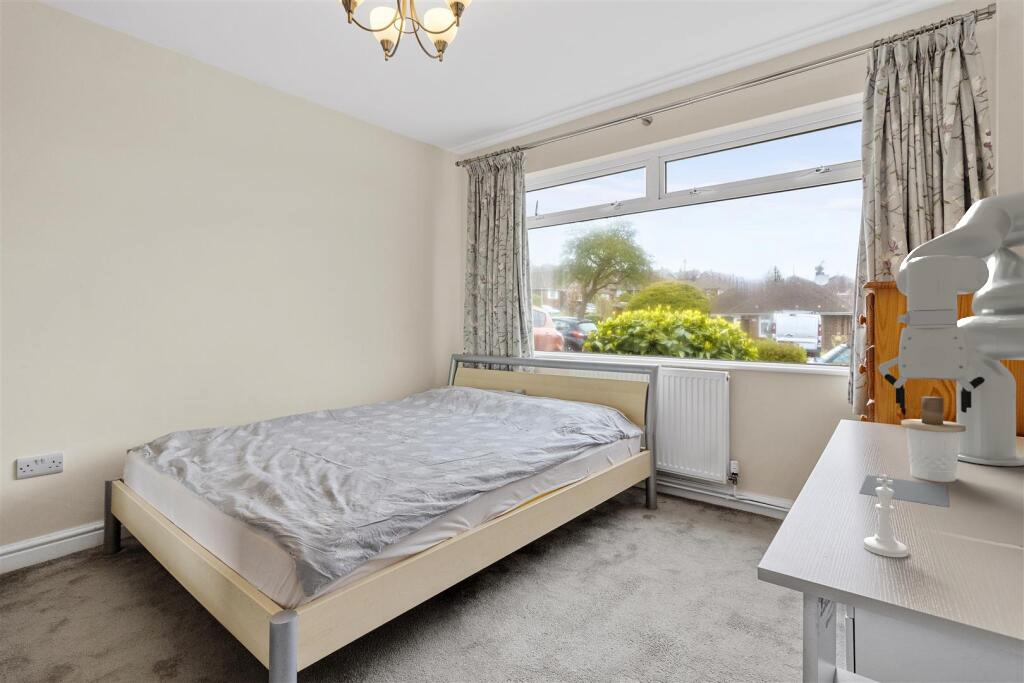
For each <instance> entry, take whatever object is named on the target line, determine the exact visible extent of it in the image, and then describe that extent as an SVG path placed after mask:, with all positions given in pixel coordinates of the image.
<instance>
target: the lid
mask: <svg viewBox="0 0 1024 683" xmlns="http://www.w3.org/2000/svg"><path fill="white" fill-rule="evenodd" d="M900 426H901V427H903V428H906V429H907V428H910V429H916V430H923V431H932V432H964V431H966V426H965V425H963V424H960V423H957V422H954V421H947V420H944V398H943V397H940V396H939V397H938V396H921V418H920V419H919V418H918V419H917V418H908V419H902V420H901V421H900Z"/></svg>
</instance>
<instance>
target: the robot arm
mask: <svg viewBox="0 0 1024 683" xmlns="http://www.w3.org/2000/svg"><path fill="white" fill-rule="evenodd" d="M1017 247H1024V190H1019V191H1014V192H1007V193H1003V194H997V195H993V196H988V197H985V198H982V199H980V200H978V201H976V202H975V203H973V204H972V205H971V206H970V208H969V209H968V210H967V211H966V212H965V214H964V215H963V217H962V218H961V219H960V220H959V222H958V223H957V225H956V226H955V227H954V229H952V230H950V231H948V232H947V231H946V232H945V233H942V234H941V235H939V236H937V237H935V238H933V239H931V240H928V241H927V242H924V243H923V244H921V245H919V246H917V247H916V248H915V249H913V250H912V251H911V252H910V253H909V254H908V255H907V256H906V257H905V259H904V260H903V261H902V263H901V264H900V266H899V268H898V270H897V273H896V277H895V284H896V288H897V290H898V291H899V293H901V295H904V296H906V311H907V312H906V313H905V314H902V315H901V314H900V315H897V323H903V324H906V325H907V326H906V327H903V328H902V329H901V332H900V337H899V345H898V347H899V348H898V356H896V357H895V358H893V359H890V360H888V361H886V362H883V363H880V364H879V365H877V370H878V371H879V372H880V374H881V375H882V377H883V378H884V380H885V381H887V382H888V383H889V384H891V385H892V386H893V387H894V388H895V404H897V405H898V404H899V409H905V408H906V388H905V387H904V385H905V383H906V382H907V381H908V380H909V379H913V380H915V379H916V380H940V381H941V380H943V381H956V385H955V386H956V387H955V389H956V392H955V393H956V400H955V401H956V405H955V406H956V423H960V424H963V425H965V426H966V431H964V432H959V450H958V460H957V461H963V462H966V463H972V464H977V465H978V464H980V465H986V466H988V465H989V466H996V467H997V466H998V467H1021V466H1024V456H1023V455H1019V454H1017V405H1016V404H1017V397H1016V396H1017V383H1016V382H1017V381H1016V379H1015V376H1014V374H1012V372H1011V371H1010V370H1009V369H1008V368H1007V367H1006V366H1005V365H1004V364H1003V363H1002V362H1001V361H1006V360H1008V361H1009V360H1010V361H1015V360H1016V361H1024V256H1022V255H1021V254H1020V253H1018V252H1016V251H1014V250H1011V248H1017ZM973 293H974V294H973ZM968 294H973V296H972V303H971V311H972V313H973V316H967V317H964V318H960V319H959V320H958V295H968ZM896 365H898V373H899V375H900V376H899V378H898V379H897V378H896V377H895V376H894V375H893V374H891V373H890V371H889V369H890V368H892V367H895V366H896Z"/></svg>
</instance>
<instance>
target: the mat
mask: <svg viewBox="0 0 1024 683" xmlns="http://www.w3.org/2000/svg"><path fill="white" fill-rule="evenodd" d="M877 478H878V479H882V476H877V475H869V474H866V477H865V478H864V481H863V483H862V486H861V488H860V491H859V493H858V494H860V495H861V494H862V495H867V496H872V497H873V496H874V497H878V495H877V493H876V490H875V489H876V488H877V487H882V483H878V482H877ZM887 480H893V484H887V487H888V488H890V489H892V490H893V491H894V494H893V496H892V499H891V500H893V499H894V500H898V501H906V502H911V503H919V504H924V505H925V504H926V505H930V506H937V507H945V508H950V503H949V494H948V493H949V492H948V485H944V484H936V483H928V482H921V481H915V480H909V479H908V480H906V479H901V478H900V479H899V478H892V477H887Z"/></svg>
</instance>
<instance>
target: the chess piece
mask: <svg viewBox="0 0 1024 683" xmlns="http://www.w3.org/2000/svg"><path fill="white" fill-rule="evenodd" d="M887 476H888V475H887V474H882V476H881V477H882V479H878V478H877V482H878V483H882V487H877V488H876V489H875V490H876V493H877V495H878V496H877V498H878V501H879V503H877V504H875V506H874V508H875V509H877V510H880V512H879V520H878V528H877V533H875V534H874V536H868V537H865V538H864V539H863V540H862V541H863V543H862V547H863V548H864V549H865V550H867V551H869V552H871V553H873V554H876V555H879V556H883V557H887V558H905V557H908V556H909V551H908V550H909V549H908V546H906V545H905V544H904V543H902V542H900V541H898V540H897V538H896V537H894V535H893V531H892V525H891V516H890V515H891V514H890V512H894V511H895V510H896V508H895V507H894V506H893V505H891V501H892V500H893V499H892V496H893V494H894V491H893V490H892V489H890V488H888V487H887V484H893V480H887V478H888V477H887Z"/></svg>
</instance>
